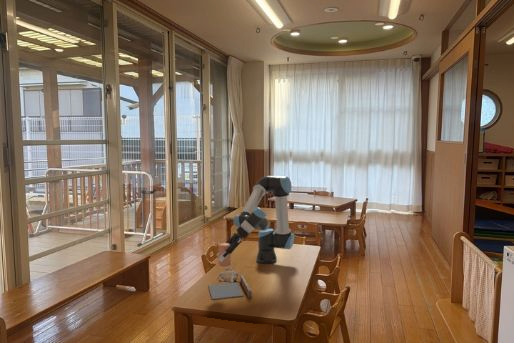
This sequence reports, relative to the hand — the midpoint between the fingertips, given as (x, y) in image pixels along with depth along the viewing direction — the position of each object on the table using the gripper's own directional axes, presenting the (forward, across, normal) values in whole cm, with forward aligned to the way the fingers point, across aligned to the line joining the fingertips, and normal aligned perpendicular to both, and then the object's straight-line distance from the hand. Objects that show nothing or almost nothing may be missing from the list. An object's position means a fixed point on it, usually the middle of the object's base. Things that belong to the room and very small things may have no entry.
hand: (218, 258), depth 216 cm
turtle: (+9, +17, -21) cm, 28 cm away
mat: (+12, 0, -17) cm, 21 cm away
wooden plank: (+3, 0, -26) cm, 26 cm away
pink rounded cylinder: (0, 0, -5) cm, 5 cm away
